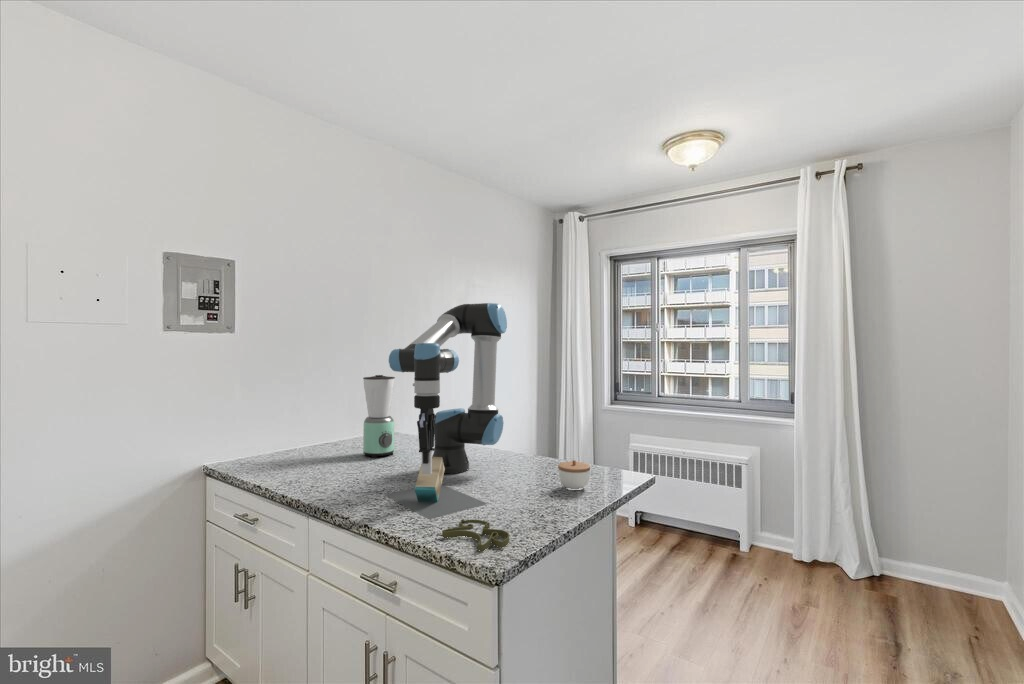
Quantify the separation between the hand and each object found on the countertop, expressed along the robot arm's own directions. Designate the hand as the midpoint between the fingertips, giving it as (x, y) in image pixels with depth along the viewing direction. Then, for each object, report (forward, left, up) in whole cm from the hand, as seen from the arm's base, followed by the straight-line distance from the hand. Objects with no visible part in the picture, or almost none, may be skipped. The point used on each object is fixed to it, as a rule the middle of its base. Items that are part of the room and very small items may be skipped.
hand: (426, 473), depth 144 cm
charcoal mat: (-4, -2, -10) cm, 11 cm away
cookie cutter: (+2, +29, -11) cm, 30 cm away
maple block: (0, 0, -7) cm, 7 cm away
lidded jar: (-48, +15, -10) cm, 51 cm away
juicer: (-18, -74, -10) cm, 77 cm away
